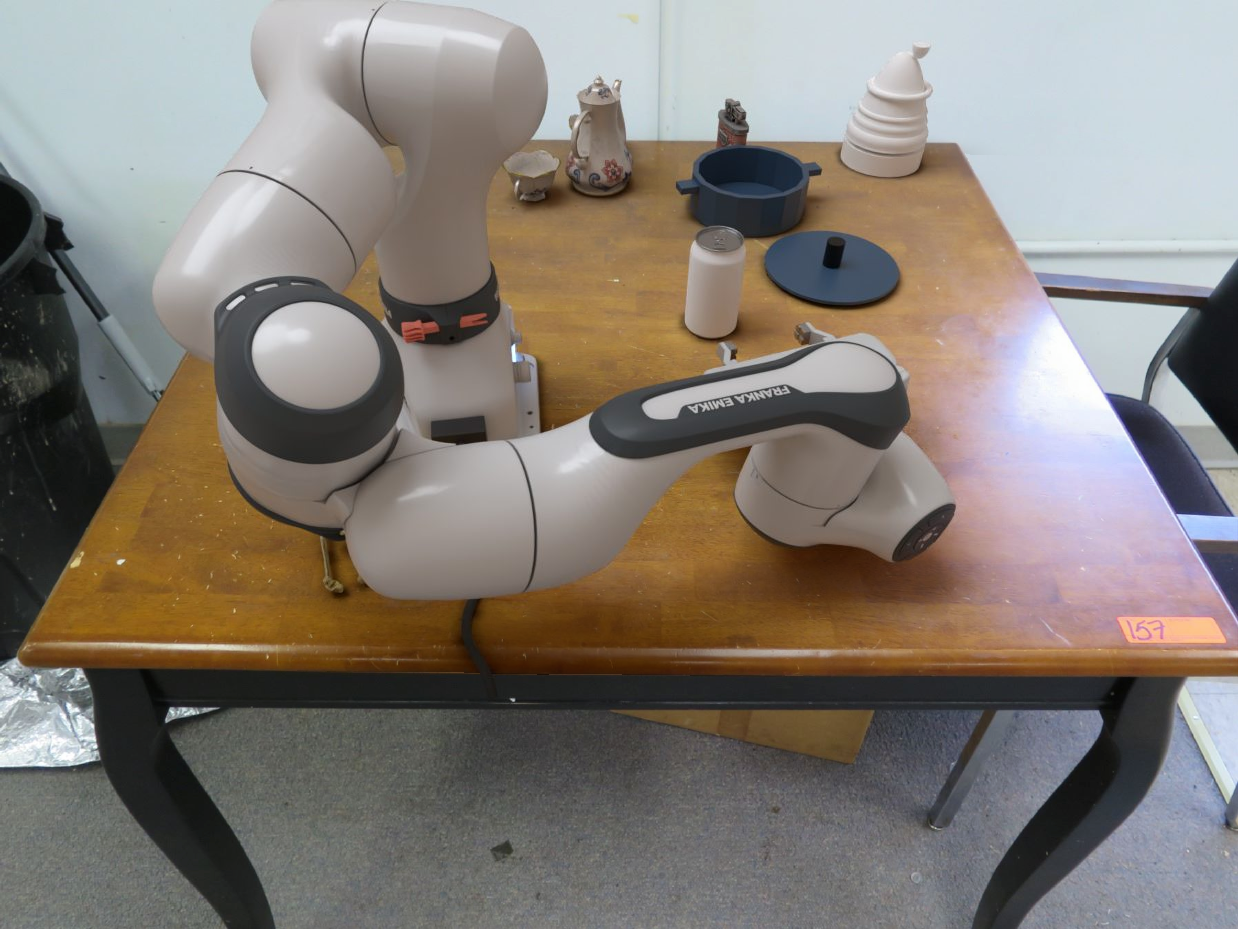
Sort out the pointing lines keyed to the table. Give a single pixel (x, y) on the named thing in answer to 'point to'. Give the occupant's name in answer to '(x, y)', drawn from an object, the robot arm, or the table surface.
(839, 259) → the lid
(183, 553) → the table surface
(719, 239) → the can
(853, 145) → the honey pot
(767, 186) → the pot
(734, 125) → the lighter
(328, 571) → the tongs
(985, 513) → the table surface
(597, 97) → the chinaware
